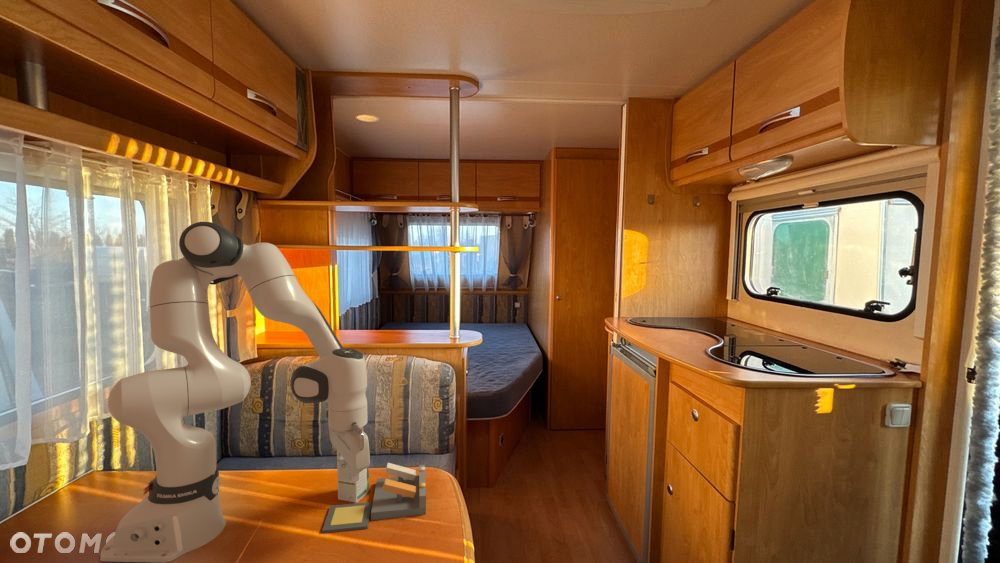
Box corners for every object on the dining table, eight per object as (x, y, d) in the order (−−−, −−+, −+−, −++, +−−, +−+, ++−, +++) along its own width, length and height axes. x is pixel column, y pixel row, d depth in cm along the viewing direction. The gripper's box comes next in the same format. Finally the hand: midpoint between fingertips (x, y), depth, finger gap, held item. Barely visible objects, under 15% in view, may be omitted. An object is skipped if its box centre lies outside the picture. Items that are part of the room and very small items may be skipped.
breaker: (385, 473, 116) (387, 467, 116) (385, 468, 119) (387, 462, 119) (413, 480, 118) (415, 475, 118) (413, 475, 120) (415, 470, 120)
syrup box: (356, 504, 111) (356, 448, 110) (336, 500, 113) (336, 445, 112) (369, 492, 117) (369, 439, 116) (350, 488, 118) (350, 436, 117)
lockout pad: (322, 533, 100) (322, 529, 100) (330, 507, 109) (330, 505, 109) (367, 528, 101) (367, 525, 101) (371, 504, 111) (371, 501, 111)
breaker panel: (371, 520, 104) (370, 498, 104) (377, 485, 120) (377, 466, 120) (425, 515, 107) (426, 493, 107) (424, 481, 123) (424, 462, 122)
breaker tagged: (382, 490, 108) (384, 484, 108) (383, 484, 110) (385, 478, 110) (413, 498, 109) (415, 492, 109) (413, 492, 112) (415, 486, 112)
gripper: (376, 427, 98) (377, 487, 98) (348, 403, 114) (349, 454, 115) (348, 434, 94) (348, 496, 95) (323, 407, 110) (324, 461, 111)
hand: (349, 473), depth 105 cm, fingers open, 7 cm apart
